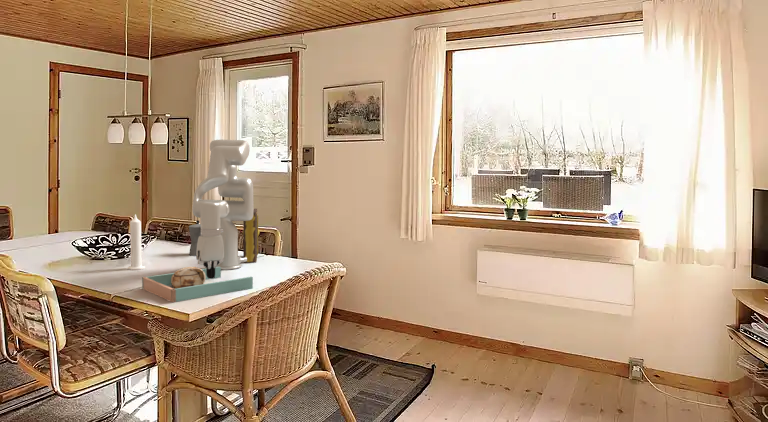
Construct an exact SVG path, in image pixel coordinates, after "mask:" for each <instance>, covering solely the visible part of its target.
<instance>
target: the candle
mask: <svg viewBox="0 0 768 422" xmlns="http://www.w3.org/2000/svg"><path fill="white" fill-rule="evenodd" d="M129 230H130V231H129V232H130V233H129V234H130V237H129V238H130V240H129V241H130V266H128V267H127V269H128V270H129V271H139V270H144V269H146V266H145V265H143V262H142V261H143V259H142V256H143V255H142V249H143V248H142V221H141V220H140V219H138V217H137V214H136V213H135V214H134V217H133V219H131V220H130V221H129Z"/></svg>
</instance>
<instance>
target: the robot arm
mask: <svg viewBox="0 0 768 422" xmlns="http://www.w3.org/2000/svg"><path fill="white" fill-rule="evenodd" d="M209 151H210V155H209V163H208V172H207V177H206V178H204V179H203V180H202V181H201V182H200V184H199V185H198V186H197V187H196V188H195V191H194V194H193V199H192V206H191V207H192V208H191V209H192V214H193V216H195V217H196V218H200V224H201V236H199V238H198V242H197V252H196V256H195V257H196V260H197V265H199V266H203V267H204V269H206V275H207V277H208V278H210V279H209V280H212V278H213V279H216V278H215V268H216V267H221V271H222V270H223V271H224V270H225V271H227V270H236V269H240V268H241V267H242V264H241V263H244V262H245V261H247V258H246V257H245V258H243V257H241V256H239V230H238V227H237V226H236V225H235V223H234V222H243V221H249V220H251V219H252V218H253V211H254V209H255V207H254V184H253V181H252V179H251V178H249V177H240V176H239V177H238V172H237V171H238V167H237V166H243V165H245V163H246V161H247V159H248V158H249V156H250V145H249V143H248V141H247V140H243V139H213V140H211V141H210V142H209ZM215 188H217V192H218V195H219V196H221V197H222V198H229V200H228V199H227V200H226V199H225V200H224V199H203V197H204V195H205V194H206V193H208V192H209V191H211V190H213V189H215ZM230 198H232V199H231V200H230ZM233 198H234V199H237V198H238V199H239V198H240V199H242V200H234V199H233Z"/></svg>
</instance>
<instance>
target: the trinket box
mask: <svg viewBox="0 0 768 422" xmlns="http://www.w3.org/2000/svg"><path fill="white" fill-rule="evenodd" d="M173 273H174V274H173V275H172V278H171V283H172V285H171V286H172V288H173V289H177V288H183V287H189V286H196V285H202V284H205V281H206V280H205V278H206V276H205V273H204V272H203V270H201V268H199V267H196V266H186V267H182V268H180V269H178V270H176V271H174V272H173Z"/></svg>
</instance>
